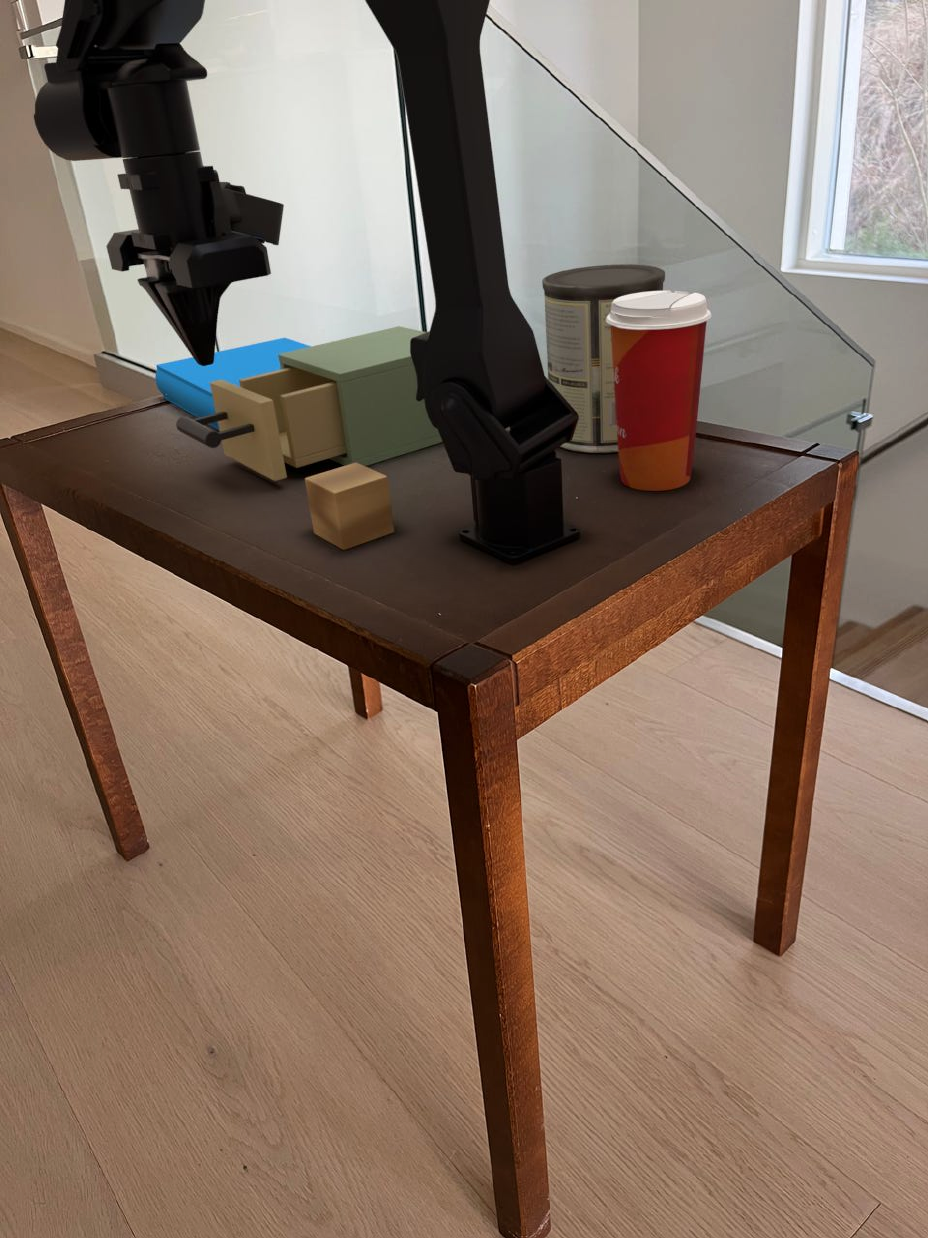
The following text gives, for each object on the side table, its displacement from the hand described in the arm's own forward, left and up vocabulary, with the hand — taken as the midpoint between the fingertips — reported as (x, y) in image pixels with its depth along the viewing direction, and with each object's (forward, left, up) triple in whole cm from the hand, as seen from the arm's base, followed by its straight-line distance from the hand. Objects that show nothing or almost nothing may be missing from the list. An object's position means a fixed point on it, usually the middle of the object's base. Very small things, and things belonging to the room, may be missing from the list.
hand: (206, 364), depth 78 cm
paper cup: (-26, -25, -11) cm, 38 cm away
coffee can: (-15, -30, -11) cm, 36 cm away
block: (-17, -2, -11) cm, 20 cm away
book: (+22, -14, -11) cm, 28 cm away
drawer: (+1, -6, -10) cm, 11 cm away
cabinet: (+1, -16, -11) cm, 19 cm away
